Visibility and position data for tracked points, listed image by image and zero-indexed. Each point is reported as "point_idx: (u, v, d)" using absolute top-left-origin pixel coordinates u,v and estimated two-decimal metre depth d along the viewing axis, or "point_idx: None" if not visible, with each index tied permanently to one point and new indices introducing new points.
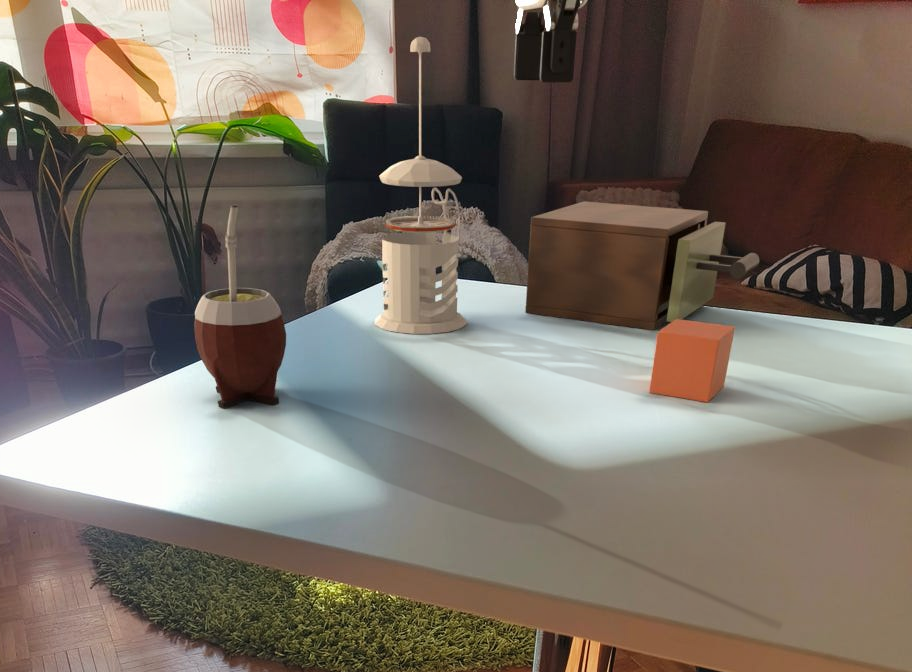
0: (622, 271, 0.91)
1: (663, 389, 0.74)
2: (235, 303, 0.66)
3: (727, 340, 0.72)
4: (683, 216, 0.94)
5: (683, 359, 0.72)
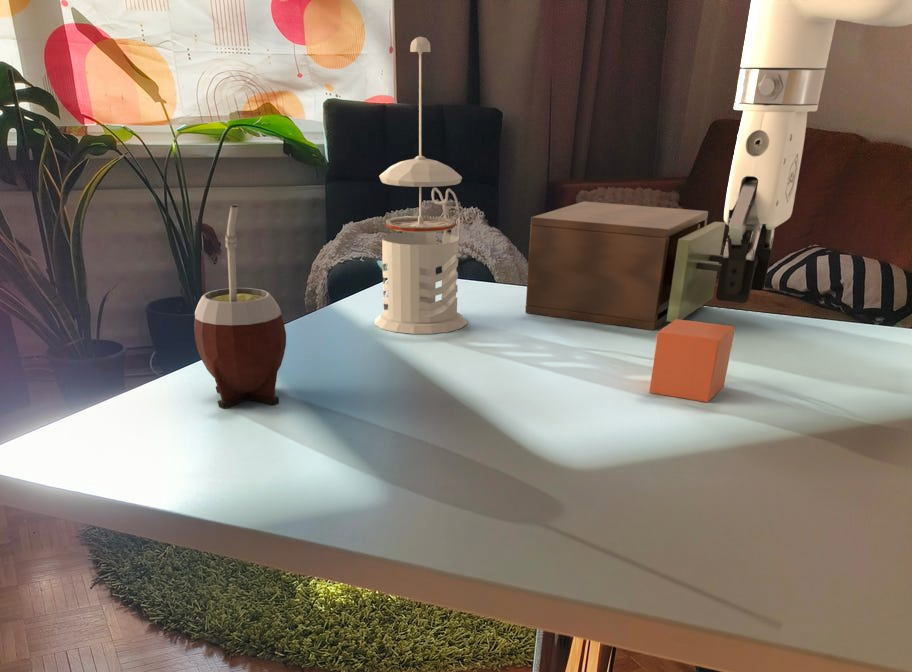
0: (622, 271, 0.91)
1: (663, 389, 0.74)
2: (235, 303, 0.66)
3: (727, 340, 0.72)
4: (683, 216, 0.94)
5: (683, 359, 0.72)
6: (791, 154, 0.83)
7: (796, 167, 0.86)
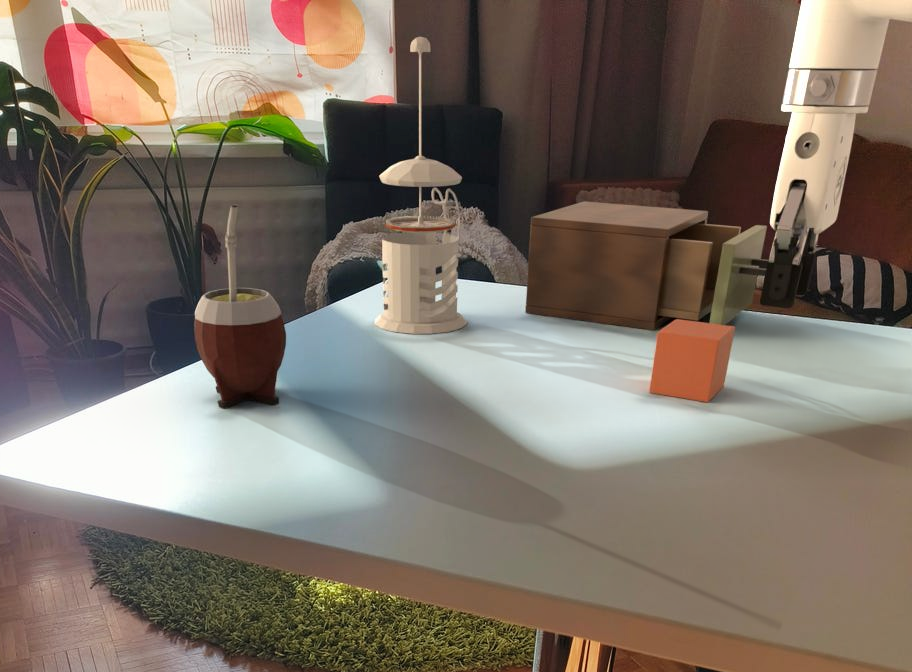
0: (622, 271, 0.91)
1: (663, 389, 0.74)
2: (235, 303, 0.66)
3: (727, 340, 0.72)
4: (683, 216, 0.94)
5: (683, 359, 0.72)
6: (841, 156, 0.81)
7: (844, 170, 0.84)
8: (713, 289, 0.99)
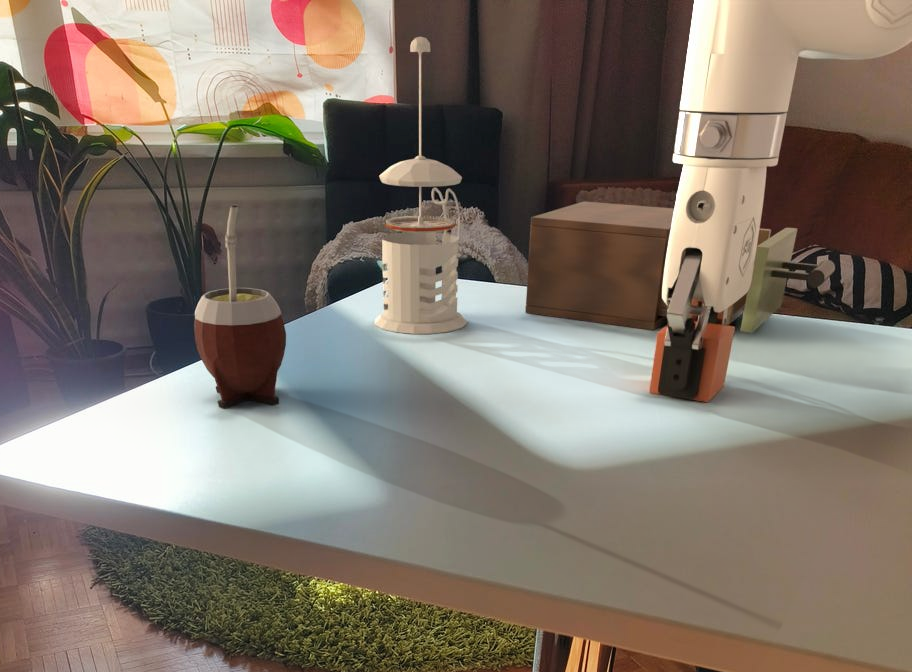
0: (622, 271, 0.91)
1: None
2: (235, 303, 0.66)
3: (727, 340, 0.72)
4: None
5: None
6: (744, 220, 0.65)
7: (753, 233, 0.69)
8: None
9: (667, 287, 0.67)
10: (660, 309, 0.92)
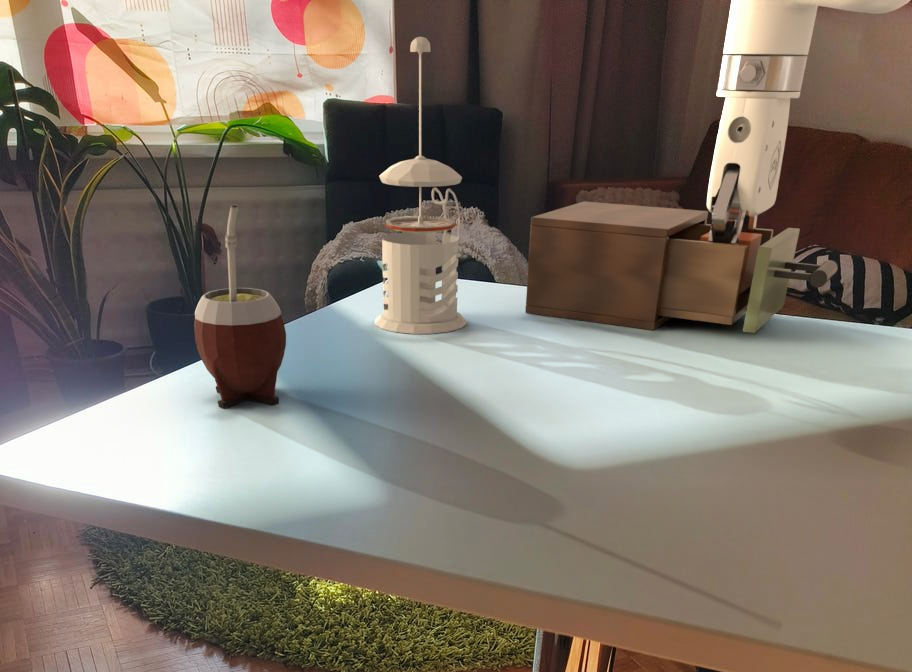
0: (622, 271, 0.91)
1: None
2: (235, 303, 0.66)
3: (756, 244, 0.90)
4: (683, 216, 0.94)
5: None
6: (773, 141, 0.83)
7: (779, 154, 0.86)
8: (744, 293, 0.97)
9: (711, 196, 0.85)
10: (662, 309, 0.92)
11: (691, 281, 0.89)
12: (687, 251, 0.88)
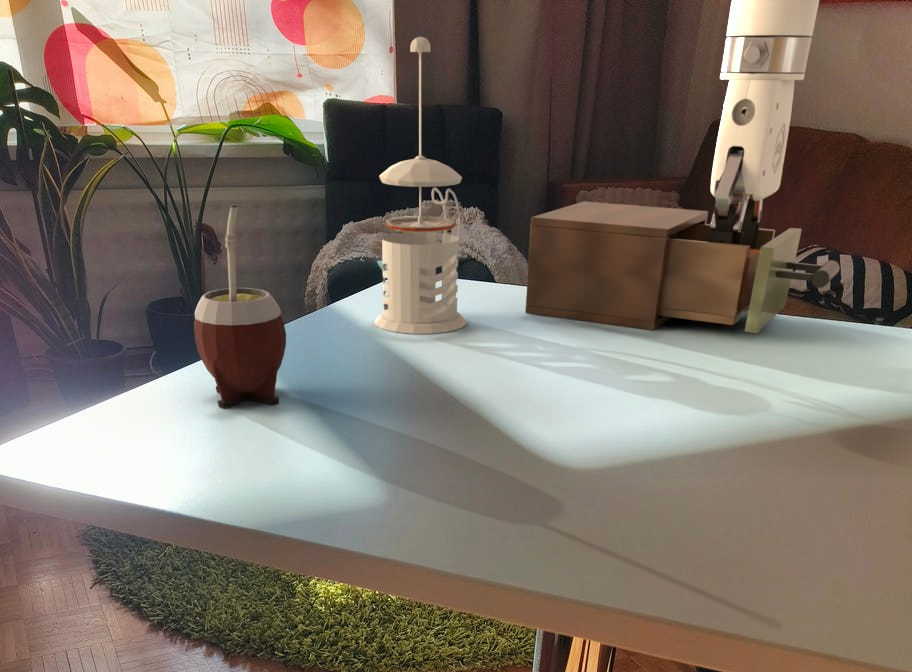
0: (622, 271, 0.91)
1: None
2: (235, 303, 0.66)
3: (755, 260, 0.91)
4: (683, 216, 0.94)
5: None
6: (778, 123, 0.82)
7: (783, 138, 0.86)
8: None
9: (715, 180, 0.85)
10: (664, 310, 0.92)
11: (693, 281, 0.89)
12: (689, 251, 0.88)
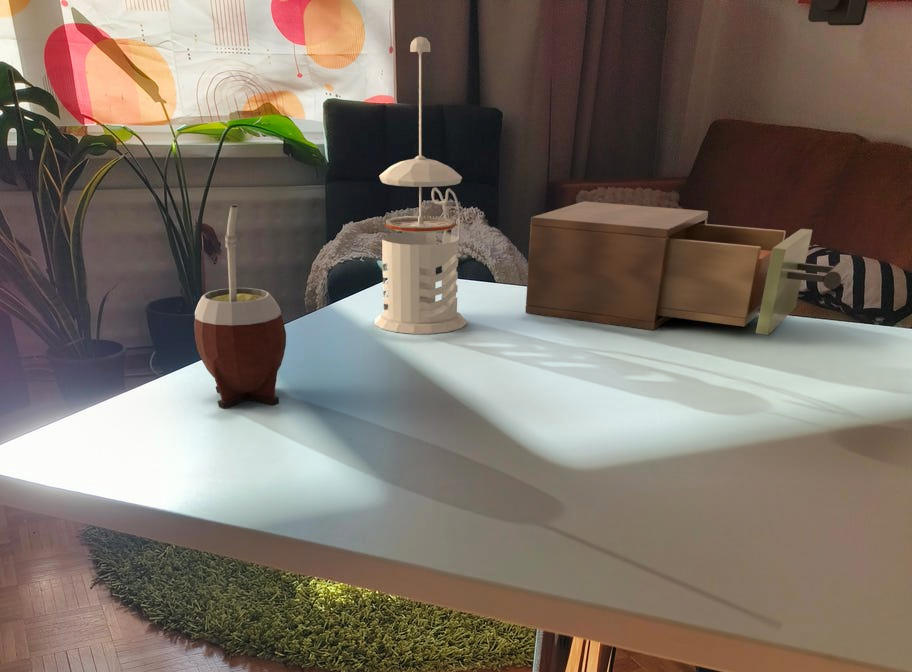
0: (622, 271, 0.91)
1: None
2: (235, 303, 0.66)
3: (766, 261, 0.91)
4: (683, 216, 0.94)
5: None
6: None
7: None
8: None
9: None
10: (674, 311, 0.91)
11: (703, 282, 0.88)
12: (699, 252, 0.87)
